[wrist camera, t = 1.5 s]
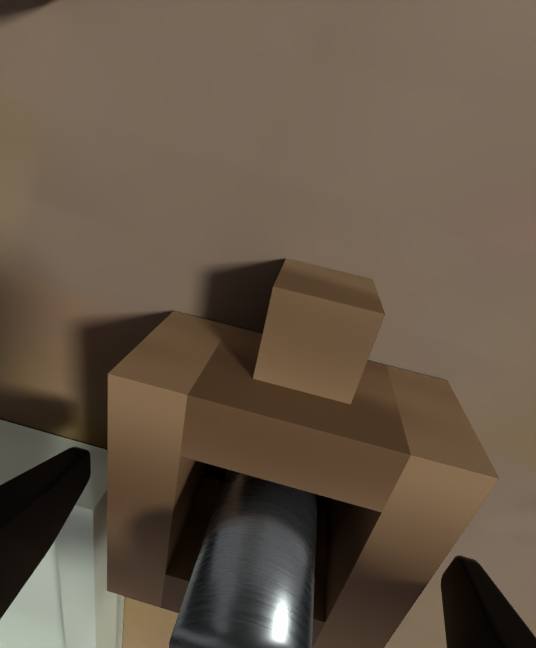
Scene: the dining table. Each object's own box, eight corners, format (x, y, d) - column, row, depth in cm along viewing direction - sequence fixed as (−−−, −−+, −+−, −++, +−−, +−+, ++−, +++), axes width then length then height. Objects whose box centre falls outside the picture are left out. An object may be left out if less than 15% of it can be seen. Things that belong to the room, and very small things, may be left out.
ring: (359, 553, 12) (367, 670, 9) (156, 495, 12) (106, 591, 10) (485, 306, 8) (565, 382, 5) (180, 233, 8) (108, 268, 6)
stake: (308, 487, 11) (292, 715, 6) (232, 466, 11) (164, 675, 7) (329, 427, 10) (328, 650, 5) (245, 405, 10) (175, 604, 6)
